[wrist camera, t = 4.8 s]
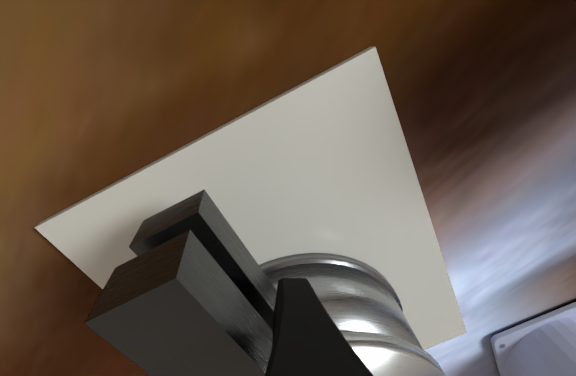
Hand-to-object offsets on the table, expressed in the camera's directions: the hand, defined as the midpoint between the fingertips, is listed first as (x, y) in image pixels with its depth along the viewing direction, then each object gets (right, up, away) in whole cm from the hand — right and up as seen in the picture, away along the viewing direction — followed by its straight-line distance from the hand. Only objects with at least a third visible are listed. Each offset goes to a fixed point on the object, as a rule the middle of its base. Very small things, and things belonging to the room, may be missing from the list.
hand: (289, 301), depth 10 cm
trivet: (0, -2, +8) cm, 9 cm away
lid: (+1, -6, +4) cm, 7 cm away
